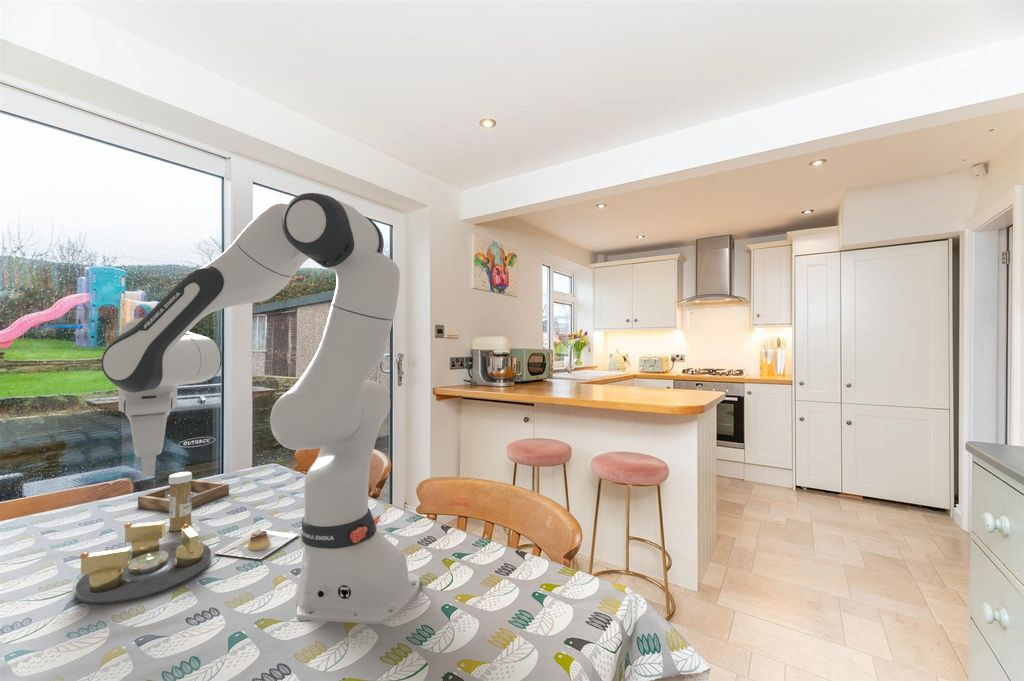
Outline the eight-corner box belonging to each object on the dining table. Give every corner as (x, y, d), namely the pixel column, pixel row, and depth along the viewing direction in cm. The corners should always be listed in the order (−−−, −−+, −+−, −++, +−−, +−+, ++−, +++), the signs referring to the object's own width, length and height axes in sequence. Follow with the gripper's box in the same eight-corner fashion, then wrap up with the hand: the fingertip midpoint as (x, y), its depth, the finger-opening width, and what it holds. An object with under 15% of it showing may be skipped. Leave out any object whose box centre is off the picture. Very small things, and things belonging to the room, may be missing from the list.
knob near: (207, 562, 85) (207, 529, 85) (180, 571, 82) (180, 537, 82) (197, 551, 89) (197, 519, 89) (171, 559, 86) (171, 526, 86)
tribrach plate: (233, 558, 91) (233, 538, 91) (127, 617, 71) (127, 592, 71) (164, 545, 96) (164, 527, 96) (47, 597, 76) (47, 575, 76)
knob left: (133, 575, 80) (133, 540, 80) (124, 587, 76) (124, 551, 76) (86, 583, 77) (86, 547, 77) (73, 597, 73) (73, 559, 73)
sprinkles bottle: (191, 528, 104) (191, 474, 104) (167, 533, 102) (167, 478, 102) (192, 522, 108) (192, 469, 108) (169, 526, 106) (169, 472, 106)
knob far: (168, 546, 91) (169, 515, 91) (158, 555, 87) (158, 524, 87) (131, 550, 90) (131, 519, 90) (118, 560, 85) (118, 528, 85)
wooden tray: (228, 493, 128) (229, 483, 128) (178, 513, 114) (178, 502, 114) (191, 489, 132) (191, 479, 132) (137, 507, 118) (137, 496, 118)
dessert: (257, 533, 103) (257, 514, 103) (300, 538, 101) (300, 518, 101) (213, 558, 92) (213, 536, 92) (260, 564, 89) (261, 541, 89)
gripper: (129, 395, 89) (129, 461, 89) (125, 407, 74) (124, 486, 74) (167, 393, 93) (167, 455, 93) (171, 404, 78) (171, 479, 78)
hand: (148, 469), depth 84 cm, fingers open, 8 cm apart
